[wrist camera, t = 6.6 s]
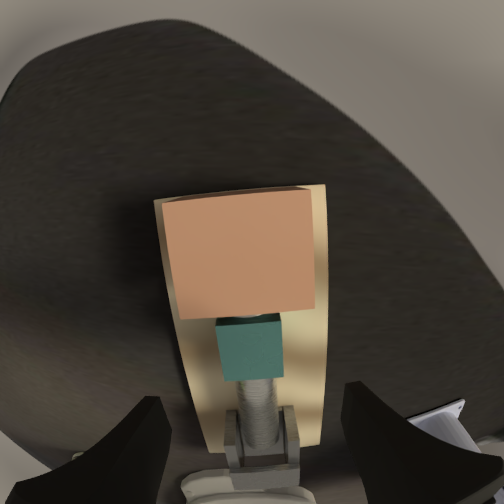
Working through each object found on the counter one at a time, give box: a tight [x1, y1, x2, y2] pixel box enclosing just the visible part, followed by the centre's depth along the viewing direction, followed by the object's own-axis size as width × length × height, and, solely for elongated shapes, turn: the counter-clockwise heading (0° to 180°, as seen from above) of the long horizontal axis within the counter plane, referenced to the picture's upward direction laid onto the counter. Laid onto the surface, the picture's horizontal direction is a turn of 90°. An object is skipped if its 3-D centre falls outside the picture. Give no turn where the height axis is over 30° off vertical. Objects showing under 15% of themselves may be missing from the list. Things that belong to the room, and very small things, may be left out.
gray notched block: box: [223, 405, 300, 490], centre depth 19 cm, size 6×5×4 cm
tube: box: [215, 312, 284, 450], centre depth 17 cm, size 15×3×4 cm, turn 5°
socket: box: [162, 186, 315, 319], centre depth 15 cm, size 6×6×4 cm
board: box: [154, 184, 328, 453], centre depth 20 cm, size 22×10×1 cm, turn 5°
